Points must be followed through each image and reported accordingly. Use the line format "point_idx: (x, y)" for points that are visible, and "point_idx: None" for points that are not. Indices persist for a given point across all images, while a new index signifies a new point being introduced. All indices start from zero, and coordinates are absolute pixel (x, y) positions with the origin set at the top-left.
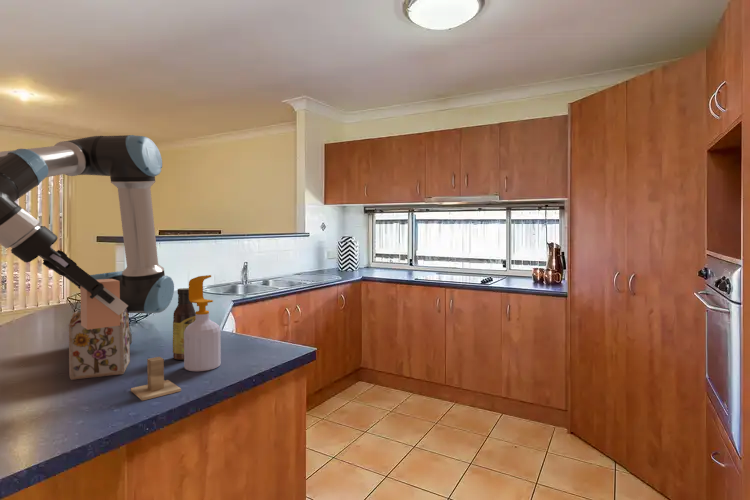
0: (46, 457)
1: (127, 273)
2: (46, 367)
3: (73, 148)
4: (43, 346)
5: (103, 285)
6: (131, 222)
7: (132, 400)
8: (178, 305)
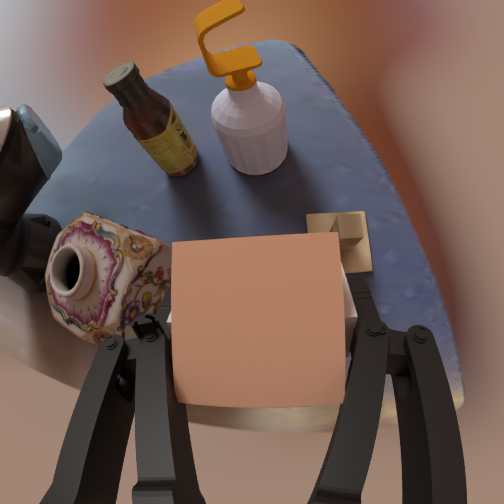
0: (457, 383)
1: None
2: (89, 349)
3: None
4: (11, 319)
5: (426, 327)
6: None
7: None
8: (133, 109)
